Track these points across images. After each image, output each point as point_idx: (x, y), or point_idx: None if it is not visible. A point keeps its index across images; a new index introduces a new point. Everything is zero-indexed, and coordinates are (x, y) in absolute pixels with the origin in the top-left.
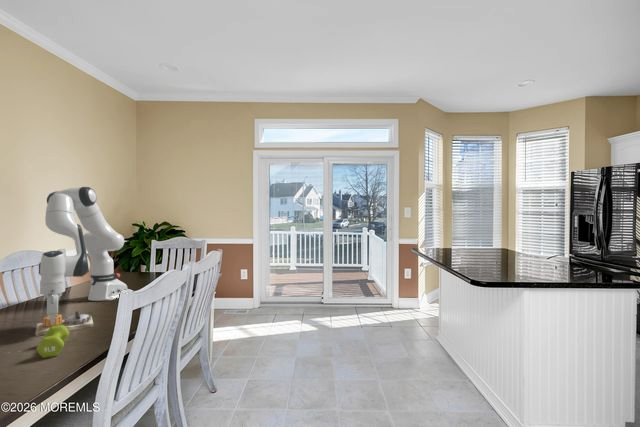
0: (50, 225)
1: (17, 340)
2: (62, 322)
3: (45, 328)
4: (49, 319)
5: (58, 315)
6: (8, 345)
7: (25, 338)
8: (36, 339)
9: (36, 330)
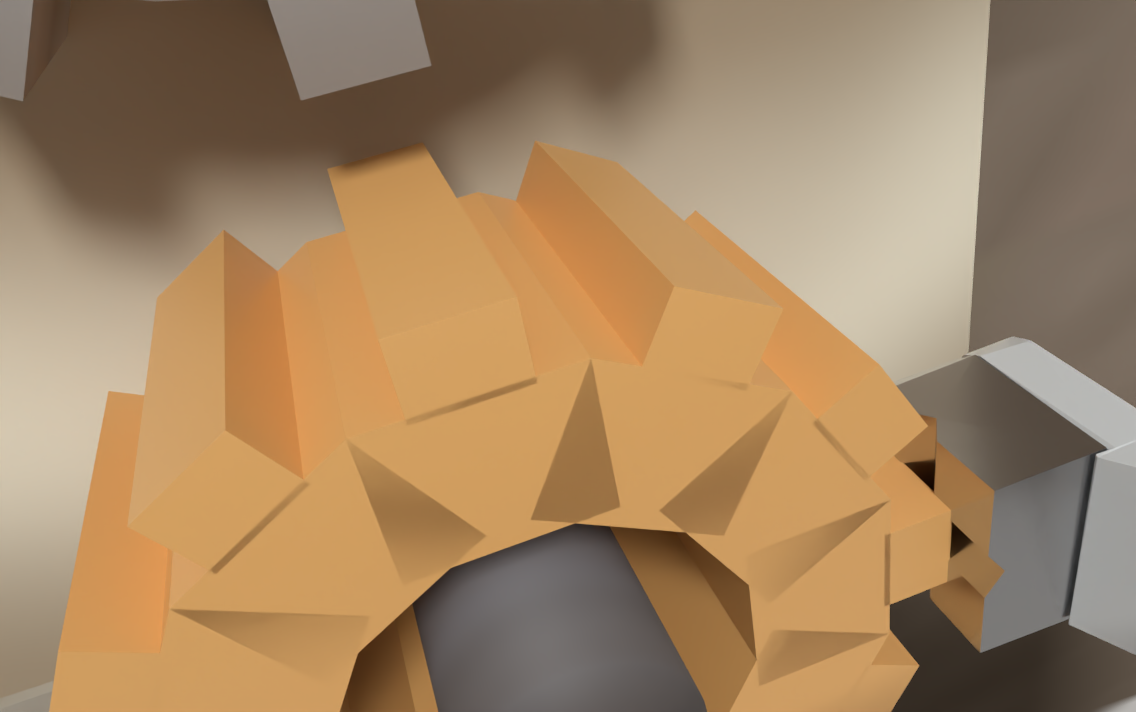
0: None
1: (960, 685)
2: (82, 183)
3: None
4: (855, 634)
5: (397, 529)
6: (1132, 677)
7: (924, 619)
8: (1127, 396)
9: None
